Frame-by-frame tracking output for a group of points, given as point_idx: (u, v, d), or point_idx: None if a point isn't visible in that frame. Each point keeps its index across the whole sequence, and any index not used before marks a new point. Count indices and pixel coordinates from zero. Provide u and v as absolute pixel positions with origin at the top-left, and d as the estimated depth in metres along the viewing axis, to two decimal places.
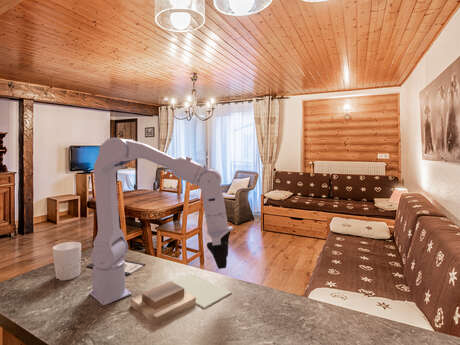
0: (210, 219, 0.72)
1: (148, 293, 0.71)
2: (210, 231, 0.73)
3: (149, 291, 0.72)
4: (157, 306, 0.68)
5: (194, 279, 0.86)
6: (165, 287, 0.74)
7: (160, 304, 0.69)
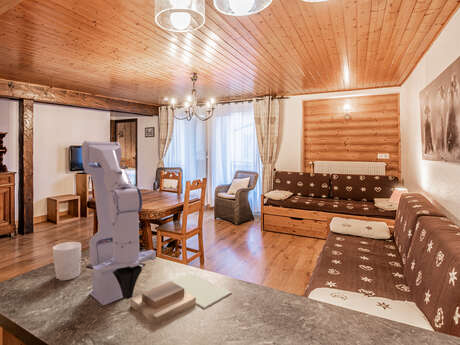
0: (113, 245, 0.63)
1: (148, 293, 0.71)
2: None
3: (149, 291, 0.72)
4: (157, 306, 0.68)
5: (194, 279, 0.86)
6: (165, 287, 0.74)
7: (160, 304, 0.69)
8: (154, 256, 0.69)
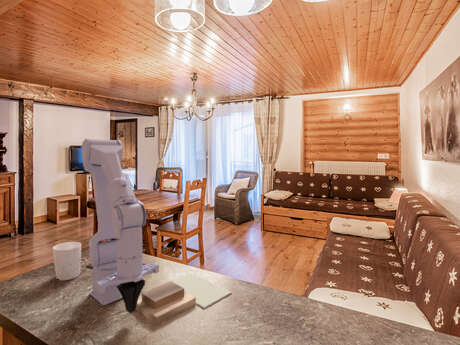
0: None
1: (148, 293, 0.71)
2: None
3: (149, 291, 0.72)
4: (157, 306, 0.68)
5: (194, 279, 0.86)
6: (165, 287, 0.74)
7: (160, 304, 0.69)
8: (157, 269, 0.69)
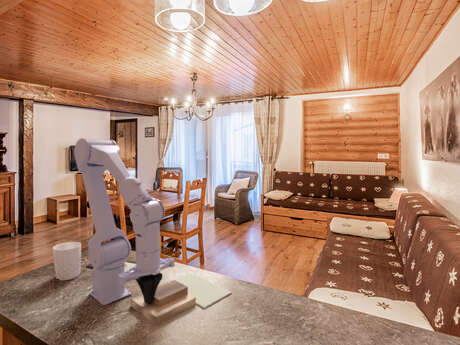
0: (136, 254, 0.67)
1: None
2: (136, 266, 0.68)
3: None
4: (161, 304, 0.69)
5: (194, 279, 0.86)
6: (169, 285, 0.75)
7: (164, 302, 0.69)
8: (173, 264, 0.73)
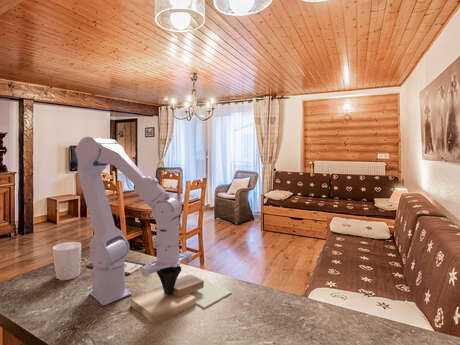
0: (157, 248, 0.72)
1: None
2: (157, 259, 0.73)
3: None
4: (180, 294, 0.73)
5: None
6: (186, 279, 0.80)
7: (183, 293, 0.74)
8: (190, 257, 0.77)
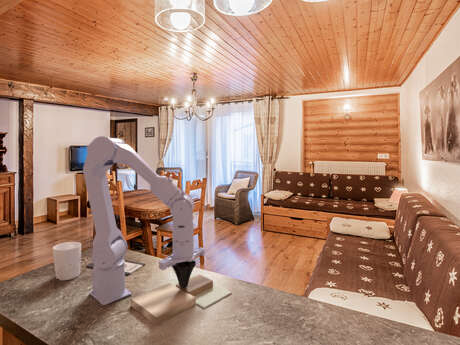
0: None
1: None
2: (172, 254, 0.76)
3: None
4: None
5: None
6: (196, 279, 0.82)
7: (193, 294, 0.77)
8: (203, 253, 0.81)
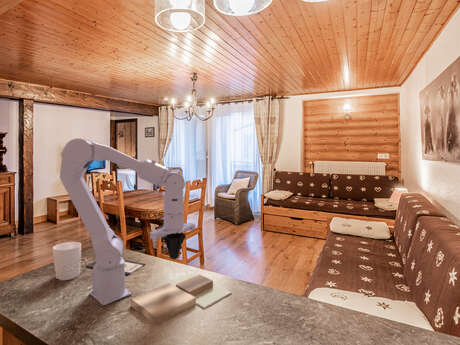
0: (164, 216, 0.80)
1: (182, 285, 0.79)
2: None
3: (182, 283, 0.80)
4: None
5: None
6: (196, 279, 0.82)
7: (193, 294, 0.77)
8: (193, 227, 0.85)
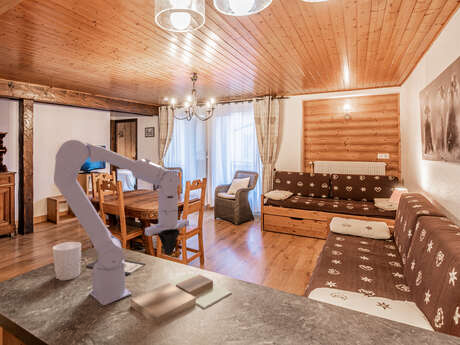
0: (158, 213, 0.82)
1: (182, 285, 0.79)
2: None
3: (182, 283, 0.80)
4: None
5: None
6: (196, 279, 0.82)
7: (193, 294, 0.77)
8: (187, 224, 0.88)
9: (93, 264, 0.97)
